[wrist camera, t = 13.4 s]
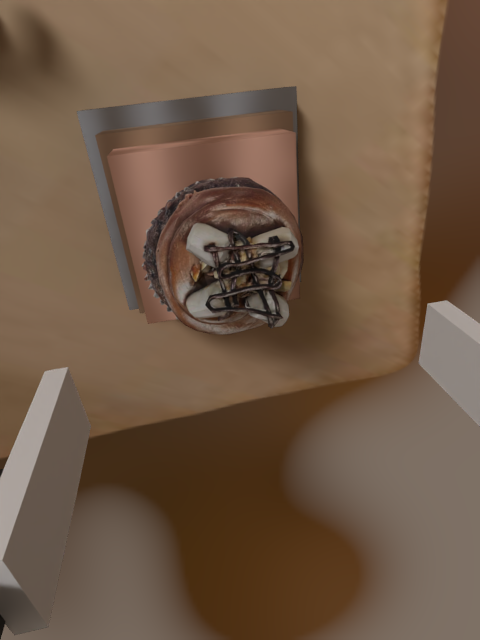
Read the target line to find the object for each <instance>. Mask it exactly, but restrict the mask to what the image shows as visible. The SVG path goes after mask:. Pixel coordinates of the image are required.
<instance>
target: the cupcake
mask: <svg viewBox="0 0 480 640" xmlns="http://www.w3.org/2000/svg"><path fill="white" fill-rule="evenodd" d="M157 215H158V216H157V217H156V218H154V219H153V220H152V221H151V224H152V226H151V227H150V228H149V229H147V230H146V239H147V240H146V241H145V243H144V247H143V249H144V252H143V257H142V258H143V259H145V261H144V263H143V264H142V267H143V269H144V270H146V271H147V274H146V276H145V278H144V280H145V281H151V283H150V286H149V288H148V289H152V290H154V291H155V293H154V297H155V298H159V297H160V303H161V305H164V304H166V305H167V311H168V312H173V313H174V314H175V316H176V319H179V320H180V321H181V322H182V323H184V324H185V325H186V326H188V327H190V328H192V329H195V330H197V331H201V332H205V333H209V334H232V333H236V332H240V331H244V330H248V329H252V328H257V327H259V326H261V325H264V324H266V323H268V326H269V327H270V328H273V327H280V326H282V325H283V324H284V323H285V322H286V321H287V319H288V317H289V306H288V304H287V301H288V299H289V298H290V296H291V294H292V291H293V288H294V286H295V284H296V282H297V280H298V277H299V275H300V273H301V270H302V265H303V238H302V234H301V232H300V229H299V226H298V224H297V221H296V219H295V216H294V215H293V214H292V213H291V211H290V210H289V209H288V207H287V206H286V205H285V204H284V203H283V202H282V201H281V200H280V199H279V198H278V197H277V196H276V195H275V194H274V193H273V192H271V191H270V190H269V189H267V188H266V187H264V186H262V185H260V184H258V183H256V182H255V181H253V180H252V179H250V178H245V177H231V178H222V177H221V178H216V179H205V180H201V181H196V182H195V183H193V184H191V185H189V186H188V187H185V188H184V190H181V191H179V192H177V193H176V195H175V196H174V197H173V198H172V199H170V200H168V201H167V203H166V206H165V207H163V208H161V209H160V210H159V211H158V214H157Z"/></svg>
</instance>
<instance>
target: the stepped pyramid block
mask: <svg viewBox="0 0 480 640" xmlns="http://www.w3.org/2000/svg"><path fill="white" fill-rule="evenodd" d="M77 114H78V118H79V122H80V126H81V129H82V133H83V137H84V141H85V144H86V148H87V152H88V156H89V159H90V163H91V167H92V171H93V174H94V178H95V182H96V186H97V189H98V193H99V197H100V201H101V204H102V208H103V212H104V216H105V219H106V223H107V227H108V231H109V234H110V238H111V242H112V246H113V249H114V253H115V257H116V261H117V264H118V268H119V272H120V276H121V279H122V283H123V287H124V291H125V294H126V298H127V302H128V306H129V309H130V310H133V309H139V311H140V313H144V312H145V314H146V318H147V322H148V324H150V323H156V322H162V321H168V320H174V319H176V316H175V314H174V313H173V312H168V311H167V305H166V304H164V305H161V303H160V297H159V298H155V297H154V293H155V291H154V290H152V289H148V288H149V286H150V283H151V281H145V280H144V278H145V276H146V274H147V271H146V270H144V269H143V267H142V264H143V263H144V261H145V259H143V258H142V257H143V252H144V249H143V247H144V243H145V241H146V240H147V239H146V230H147V229H149V228H150V227H151V226H152V224H151V221H152V220H153V219H154V218H156V217H157V216H158V215H157V214H158V211H159V210H160V209H161V208H163V207H165V206H166V203H167V201H168V200H170V199H172V198H173V197H174V196H175V195H176V193H177V192H179V191H181V190H184V188H185V187H188V186H189V185H191V184H193V183H195V182H196V181H201V180H205V179H216V178H221V177H222V178H231V177H245V178H250V179H252V180H253V181H255V182H256V183H258V184H260V185H262V186H264V187H266V188H267V189H269V190H270V191H271V192H273V193H274V194H275V195H276V196H277V197H278V198H279V199H280V200H281V201H282V202H283V203H284V204H285V205H286V206H287V207H288V209H289V210H290V211H291V213H292V214H293V215H294V216H295V219H296V221H297V224H298V226H299V229H300V217H299V176H298V135H297V94H296V86H295V87H283V88H274V89H266V90H257V91H248V92H239V93H231V94H222V95H213V96H204V97H195V98H187V99H178V100H169V101H160V102H152V103H143V104H134V105H125V106H117V107H108V108H99V109H90V110H82V111H77ZM300 282H301V273H300V275H299V277H298V280H297V282H296V284H295V286H294V288H293V291H292V294H291V296H290V298H289V299H288V300H293V299H299V298H300Z"/></svg>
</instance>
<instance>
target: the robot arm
mask: <svg viewBox="0 0 480 640" xmlns="http://www.w3.org/2000/svg"><path fill="white" fill-rule="evenodd" d="M419 364H420V365H421V366H422V368H423V369H425V371H426V372H427V373H428V374H429V375H430V376H431V377H432V378H433V379H434V380H435V381H436V382H437V383H438V384H439V385H440V386H441V387H442V388H443V389H444V390H445V391H446V392H447V393H448V394H449V395H450V396H451V397H452V398H453V400H454V401H455V402H456V403H458V405H459V406H460V407H461V408H462V409H463V410H464V411H465V412H466V413H467V414H468V415H469V416H470V417H471V418H472V419H473V420H474V421H475V422H476V423H477V424H478V425H479V426H480V324H479V323H478V322H476V321H475V320H473V319H472V318H471V317H469V316H468V315H466V314H465V313H464V312H462V311H461V310H459V309H458V308H457V307H455V306H454V305H452V304H451V303H449V302H448V301H441V302H435V303H430V304H428V305H427V312H426V318H425V325H424V332H423V339H422V345H421V352H420V358H419ZM90 428H91V426H90V423H89V420H88V418H87V415H86V413H85V410H84V407H83V405H82V402H81V400H80V397H79V394H78V392H77V389H76V387H75V384H74V381H73V379H72V376H71V374H70V371H69V368H68V367H67V368H61V369H55V370H50V371H45V372H44V375H43V377H42V380H41V382H40V384H39V387H38V389H37V391H36V394H35V396H34V399H33V401H32V403H31V406H30V408H29V410H28V413H27V415H26V418H25V420H24V422H23V425H22V427H21V430H20V432H19V434H18V437H17V439H16V441H15V444H14V446H13V449H12V451H11V453H10V456H9V458H8V460H7V463H6V465H5V468H4V469H1V470H0V639H1V635H2V632H3V628H4V624H6V625H7V627H8V628H9V629H10V630H11V631H12V633H13V634H14V635H18V634H22V633H26V632H30V631H35V630H39V629H43V628H47V627H49V622H50V618H51V613H52V608H53V603H54V599H55V593H56V589H57V584H58V580H59V575H60V570H61V565H62V561H63V556H64V551H65V546H66V542H67V537H68V532H69V528H70V523H71V518H72V513H73V509H74V504H75V499H76V494H77V489H78V485H79V480H80V475H81V471H82V466H83V461H84V456H85V452H86V447H87V442H88V437H89V433H90Z"/></svg>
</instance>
